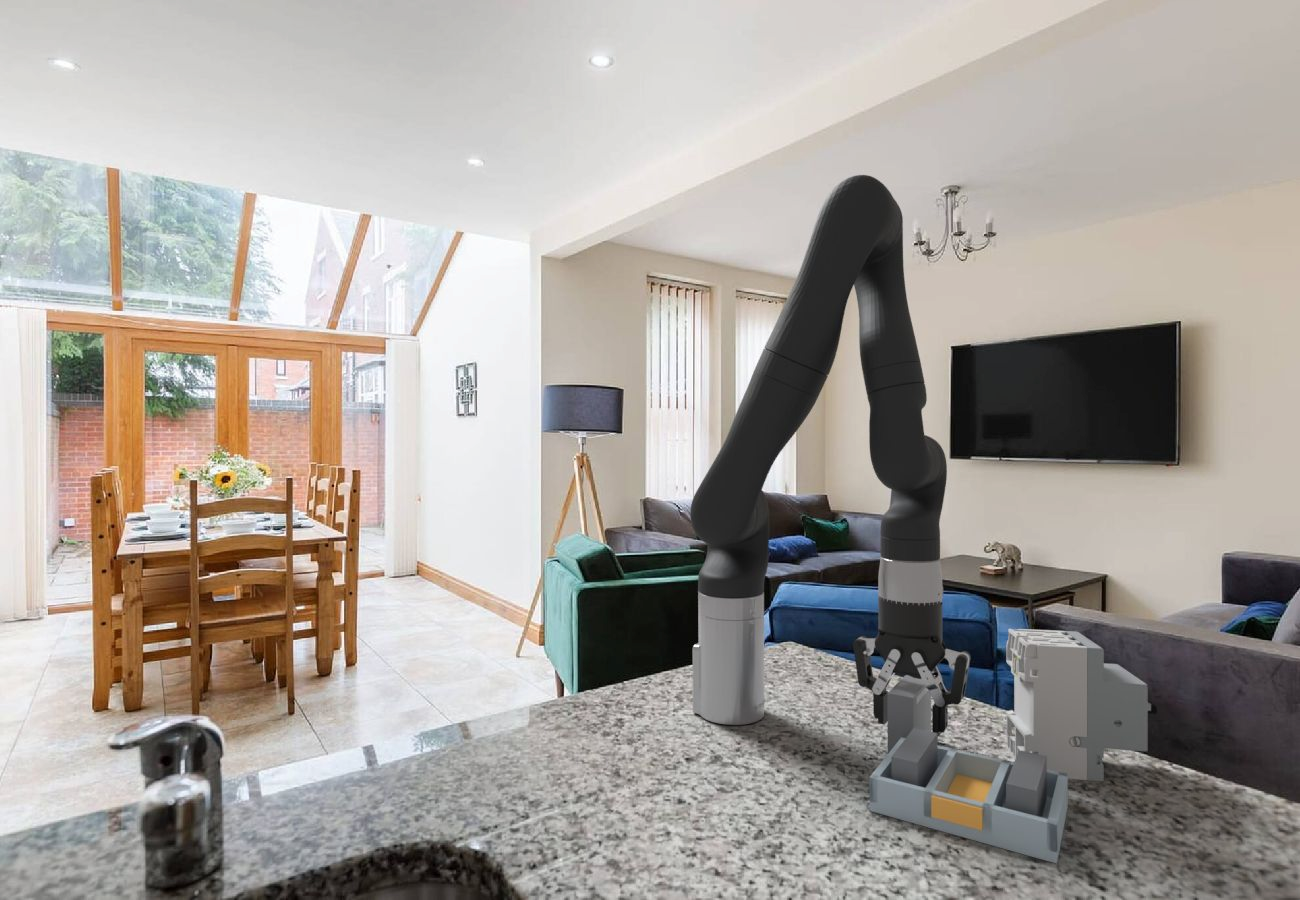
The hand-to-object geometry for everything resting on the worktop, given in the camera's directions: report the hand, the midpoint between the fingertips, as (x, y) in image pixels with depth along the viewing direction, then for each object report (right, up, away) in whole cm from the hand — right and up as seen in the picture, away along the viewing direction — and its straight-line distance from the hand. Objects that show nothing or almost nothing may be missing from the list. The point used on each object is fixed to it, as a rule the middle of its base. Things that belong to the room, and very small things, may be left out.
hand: (910, 727), depth 90 cm
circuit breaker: (+18, -3, -5) cm, 19 cm away
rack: (+1, -3, -15) cm, 15 cm away
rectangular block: (0, -3, 0) cm, 3 cm away
